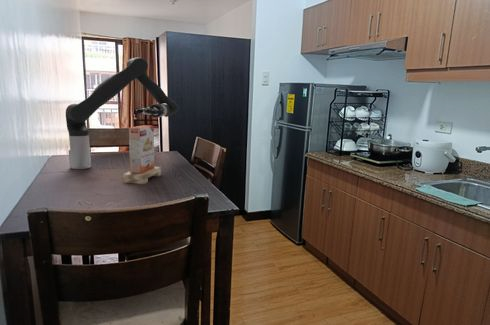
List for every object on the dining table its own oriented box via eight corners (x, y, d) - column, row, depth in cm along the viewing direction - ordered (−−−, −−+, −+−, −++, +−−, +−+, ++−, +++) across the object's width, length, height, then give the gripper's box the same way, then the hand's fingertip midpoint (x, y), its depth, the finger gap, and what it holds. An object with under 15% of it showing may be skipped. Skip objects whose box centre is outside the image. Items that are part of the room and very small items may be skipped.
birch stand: (123, 182, 147) (123, 174, 146) (142, 173, 164) (142, 165, 163) (144, 184, 145) (143, 175, 144) (161, 174, 163) (161, 167, 162)
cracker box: (141, 174, 147) (140, 128, 143) (129, 173, 148) (127, 127, 144) (155, 167, 161) (154, 125, 156) (144, 166, 162) (142, 124, 157)
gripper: (146, 103, 186) (131, 104, 171) (169, 104, 184) (157, 105, 168) (146, 116, 188) (132, 118, 172) (169, 117, 185) (157, 119, 170)
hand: (144, 112), depth 170 cm, fingers open, 8 cm apart
